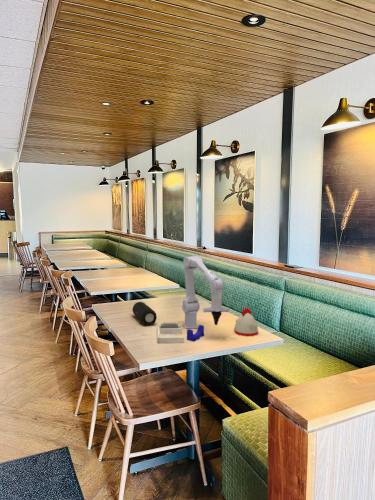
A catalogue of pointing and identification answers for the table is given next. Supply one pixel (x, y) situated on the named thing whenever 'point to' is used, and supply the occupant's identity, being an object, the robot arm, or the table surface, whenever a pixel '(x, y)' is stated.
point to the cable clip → (197, 335)
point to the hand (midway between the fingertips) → (215, 324)
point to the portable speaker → (144, 313)
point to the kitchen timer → (246, 324)
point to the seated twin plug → (169, 325)
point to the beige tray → (170, 331)
